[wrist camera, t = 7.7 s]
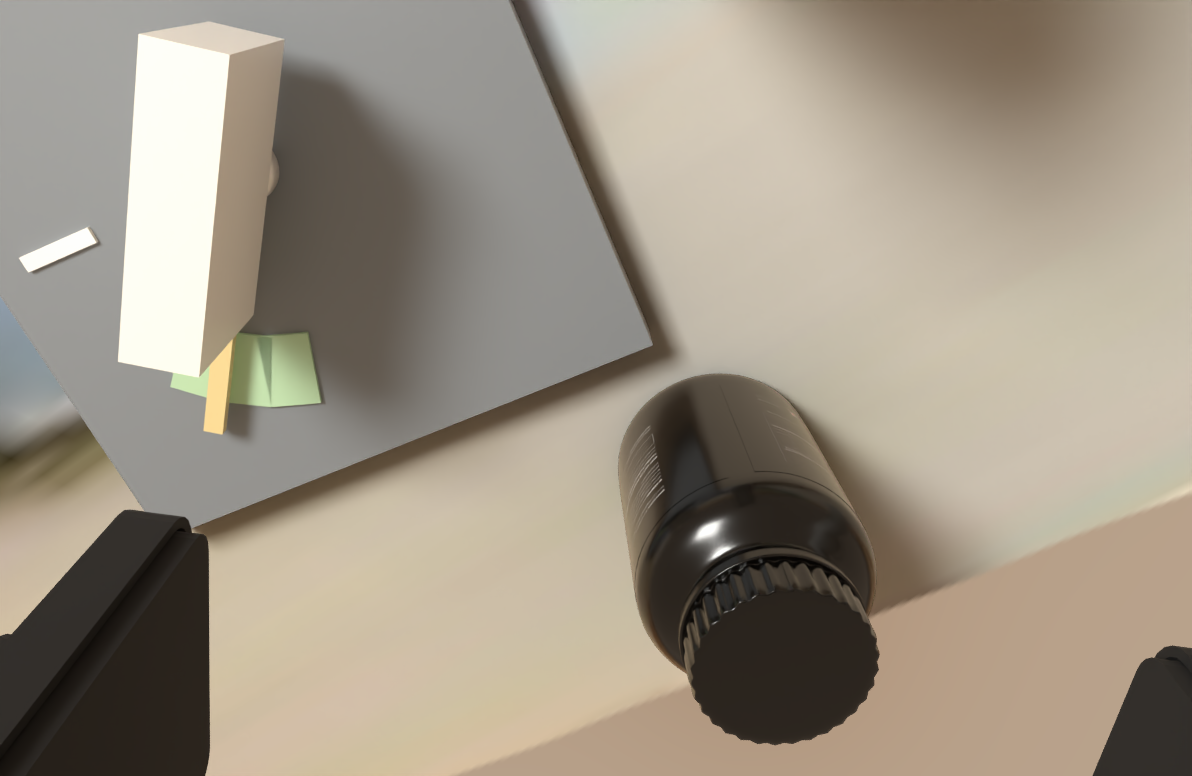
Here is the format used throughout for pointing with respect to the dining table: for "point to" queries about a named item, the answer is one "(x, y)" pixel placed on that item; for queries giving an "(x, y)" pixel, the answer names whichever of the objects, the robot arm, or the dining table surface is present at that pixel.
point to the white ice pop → (198, 199)
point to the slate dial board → (313, 238)
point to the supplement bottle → (748, 559)
